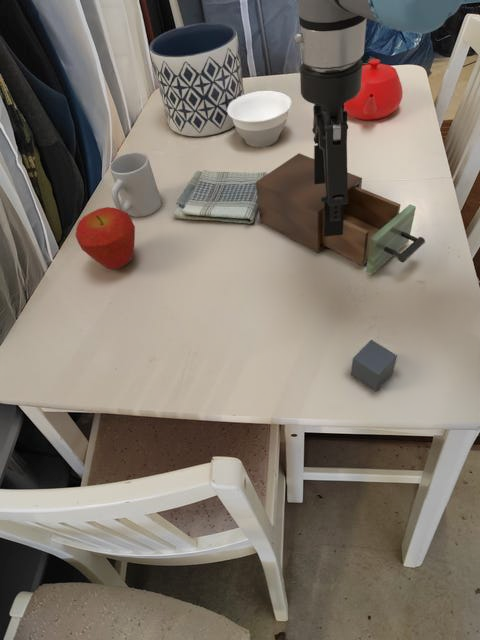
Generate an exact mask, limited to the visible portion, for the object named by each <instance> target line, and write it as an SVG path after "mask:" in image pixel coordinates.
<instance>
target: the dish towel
mask: <svg viewBox="0 0 480 640" xmlns="http://www.w3.org/2000/svg"><path fill="white" fill-rule="evenodd" d="M267 174H268V172H266V171H264V172H263V171H262V172H234V171H210V170H206V169H205V170H204V169H203V170H197V171H195V173H193V176H192V177H191V179H190V181H189V182H188V184H187V185H186V186H185V188H184V190H183V191H182V193H181V195H180V196H179V198H178V199H176V202H175V204H176V205H177V206H176V209H175V210H174V213H173V215H174V218H175V219H183V220H193V221H212V222H213V221H216V222H223V223H237V224H248V225H251V224H253V223H254V221H255V219H256V216H257V212H258V211H259V208H258V199H257V190H256V182H257V181H258V180H260V179H261V178H263V177H264V176H266V175H267Z"/></svg>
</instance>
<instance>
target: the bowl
mask: <svg viewBox="0 0 480 640" xmlns="http://www.w3.org/2000/svg"><path fill="white" fill-rule="evenodd" d="M292 104H293V103H292V99H291V97H289V95H288V94H286V93H284V92H279V91H276V90H275V91H274V90H258V91H253V92H248V93H244V95H242V96H240V97H238V98H236V99H235V100H233V101H232V102H231V103H230V104H229V106H228V108H227V113H228V115H229V116H230V117H231V118H233V123H234V125H235V126H234V127H235V130H236V131H237V133H238V134H239V135H240V136H241V137H242V138H243V139H244V140H245V143H246V144H247V145H248V146H250V147H254V148H263V147H268V146H271V145H273V144H275V143H276V142H278V141H279V138H280V134H281V133H282V132H283V130H284V128H285V126H286V124H287V119H288V114H289V111H290V109H291V108H292Z"/></svg>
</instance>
